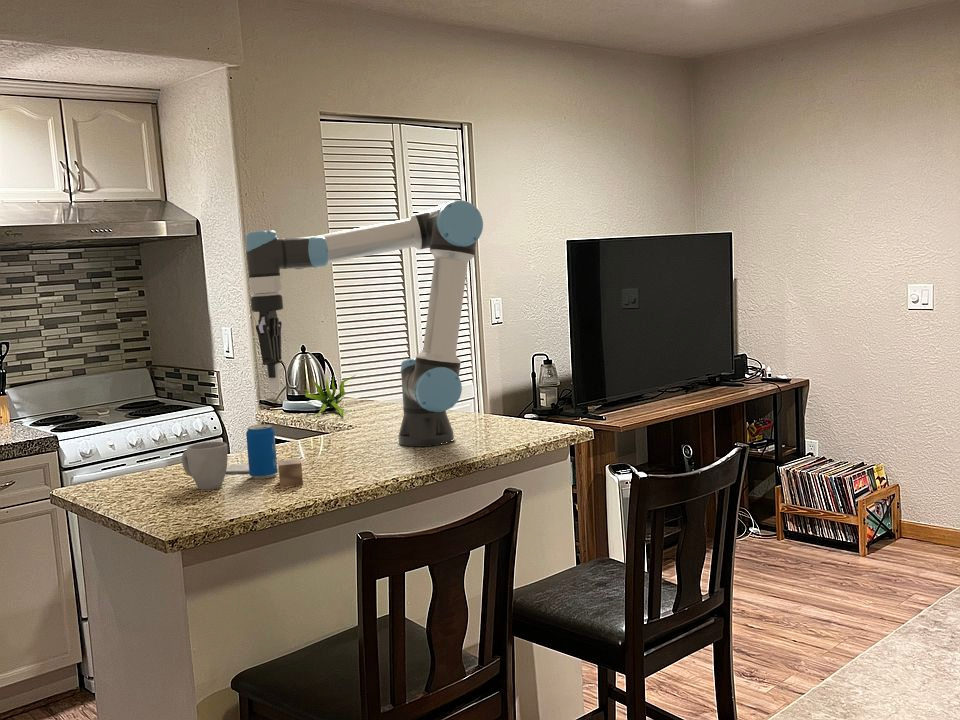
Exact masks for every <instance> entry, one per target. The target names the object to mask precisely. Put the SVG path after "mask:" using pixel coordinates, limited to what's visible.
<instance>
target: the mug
mask: <svg viewBox="0 0 960 720" xmlns="http://www.w3.org/2000/svg"><path fill="white" fill-rule="evenodd" d="M228 456H229V455H228V445H227V443H226V442H224V441H206V442H198V443H194V444H190V445H188V446H187V447H186V450H184V451H183V452H182V454H181V464H182V468H183V470H184V472H185V474H186V475H187V476H188V477H191V478H192V479H193V481H194V483H195V485H196V486H197V489H198V490H201V491H202V490H203V491H205V490H206V491H209V490H215V489H219V488H222V486H223V483H224V479H225V476H226V475H227V474H226V469H227V468H228V458H229V457H228Z"/></svg>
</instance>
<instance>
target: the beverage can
mask: <svg viewBox="0 0 960 720" xmlns="http://www.w3.org/2000/svg"><path fill="white" fill-rule="evenodd" d="M245 435H246V448H247V461H248V464H249V476H251V477H252V478H253V479H256V480H257V479H258V480H264V479H269V478H273V477H275V475H276V474H277V473H278V461H277V449H276V447H277V446H276V435H275V429H274V428H273V425H272V424H267V423H265V424H263V423H262V424H253V425H250V426H248V427H247V431H246V432H245Z"/></svg>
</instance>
